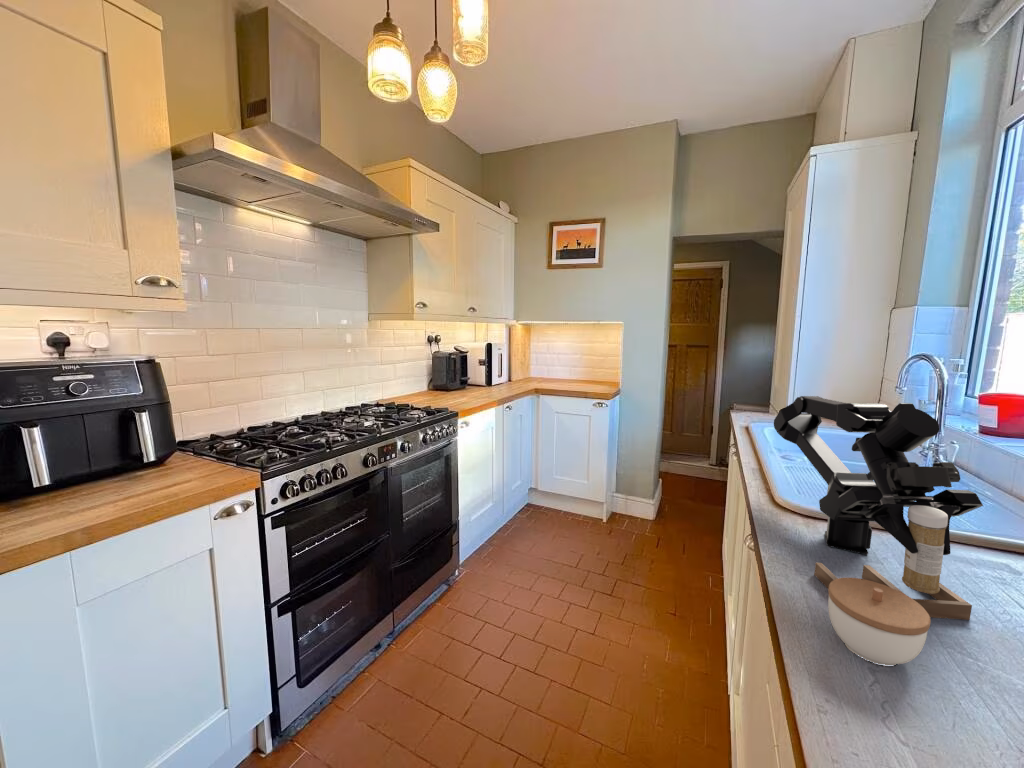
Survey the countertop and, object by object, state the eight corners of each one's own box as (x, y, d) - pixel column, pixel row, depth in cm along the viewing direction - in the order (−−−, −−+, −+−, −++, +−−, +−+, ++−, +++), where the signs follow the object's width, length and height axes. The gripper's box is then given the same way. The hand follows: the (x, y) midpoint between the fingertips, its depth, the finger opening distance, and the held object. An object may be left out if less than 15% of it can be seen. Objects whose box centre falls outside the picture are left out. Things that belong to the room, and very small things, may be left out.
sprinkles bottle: (900, 574, 72) (906, 501, 70) (937, 583, 69) (945, 508, 67) (903, 589, 68) (910, 512, 66) (942, 599, 65) (951, 519, 63)
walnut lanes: (814, 574, 76) (815, 562, 76) (916, 580, 74) (918, 568, 74) (850, 612, 66) (852, 598, 66) (969, 619, 64) (972, 605, 64)
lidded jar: (807, 635, 62) (813, 577, 60) (850, 614, 66) (856, 560, 65) (895, 693, 52) (905, 627, 51) (939, 664, 56) (949, 602, 55)
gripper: (856, 441, 70) (899, 536, 61) (981, 444, 67) (1045, 543, 58) (822, 469, 79) (856, 555, 70) (932, 472, 76) (981, 561, 67)
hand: (930, 553), depth 66 cm, fingers closed on sprinkles bottle, 4 cm apart
